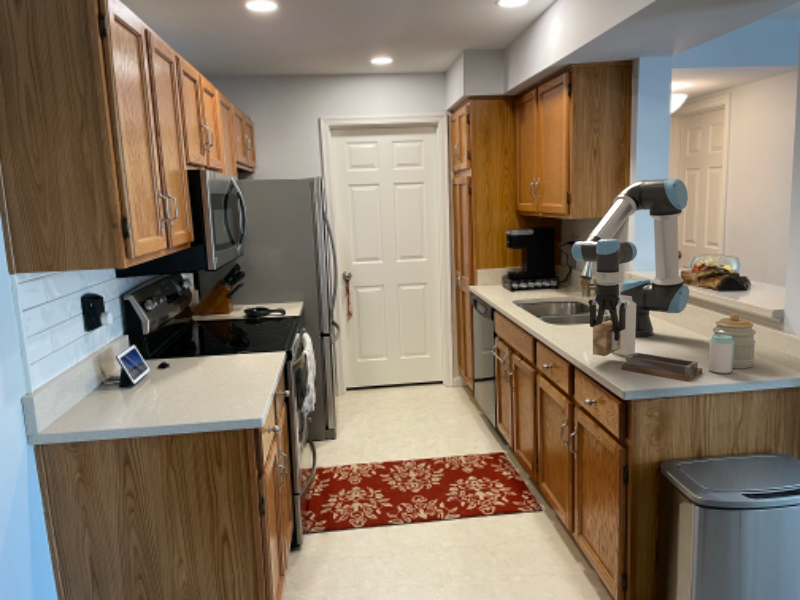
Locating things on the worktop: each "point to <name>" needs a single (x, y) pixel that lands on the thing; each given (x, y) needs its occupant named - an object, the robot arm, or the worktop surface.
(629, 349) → the milk
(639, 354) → the wooden tray
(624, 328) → the robot arm
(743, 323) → the jar
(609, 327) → the tan wooden block
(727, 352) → the can
